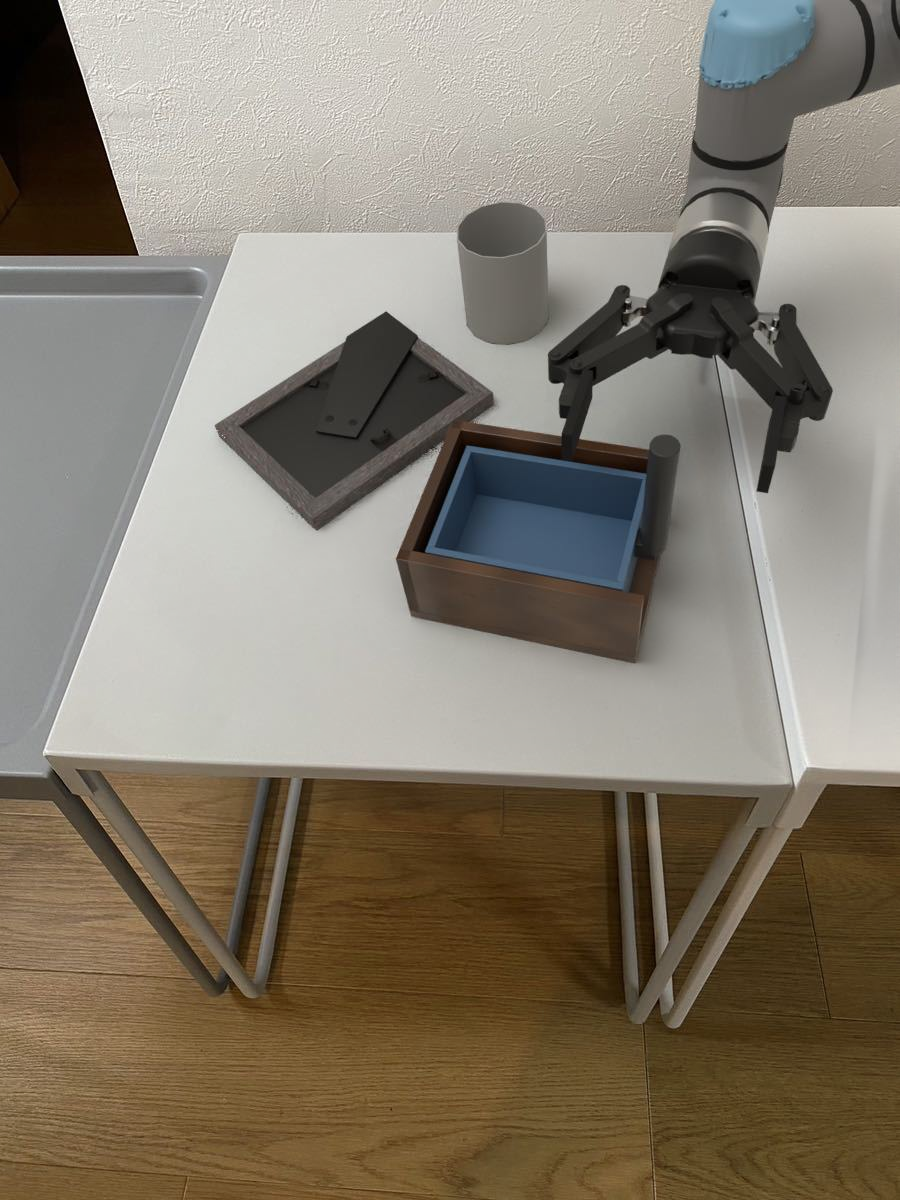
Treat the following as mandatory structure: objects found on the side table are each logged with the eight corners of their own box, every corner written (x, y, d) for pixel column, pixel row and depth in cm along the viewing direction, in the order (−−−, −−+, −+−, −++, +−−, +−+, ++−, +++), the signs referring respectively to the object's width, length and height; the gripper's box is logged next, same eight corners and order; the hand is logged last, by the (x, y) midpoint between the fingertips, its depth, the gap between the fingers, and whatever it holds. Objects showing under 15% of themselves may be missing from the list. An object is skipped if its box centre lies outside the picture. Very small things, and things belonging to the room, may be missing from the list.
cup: (457, 340, 93) (446, 254, 85) (475, 286, 97) (467, 200, 89) (541, 347, 91) (538, 260, 83) (555, 292, 95) (554, 204, 87)
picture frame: (389, 326, 95) (219, 436, 89) (386, 311, 93) (212, 421, 87) (493, 404, 88) (315, 530, 81) (492, 388, 86) (310, 516, 80)
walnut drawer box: (668, 517, 78) (677, 453, 71) (634, 663, 71) (641, 606, 64) (462, 483, 83) (452, 419, 76) (410, 616, 75) (395, 558, 69)
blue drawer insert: (673, 526, 76) (694, 388, 63) (648, 639, 71) (665, 512, 58) (472, 492, 80) (454, 356, 68) (434, 595, 75) (406, 468, 62)
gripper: (865, 323, 75) (841, 528, 64) (561, 288, 81) (493, 470, 70) (891, 242, 68) (870, 454, 58) (560, 211, 75) (485, 398, 64)
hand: (663, 463), depth 64 cm, fingers open, 13 cm apart
